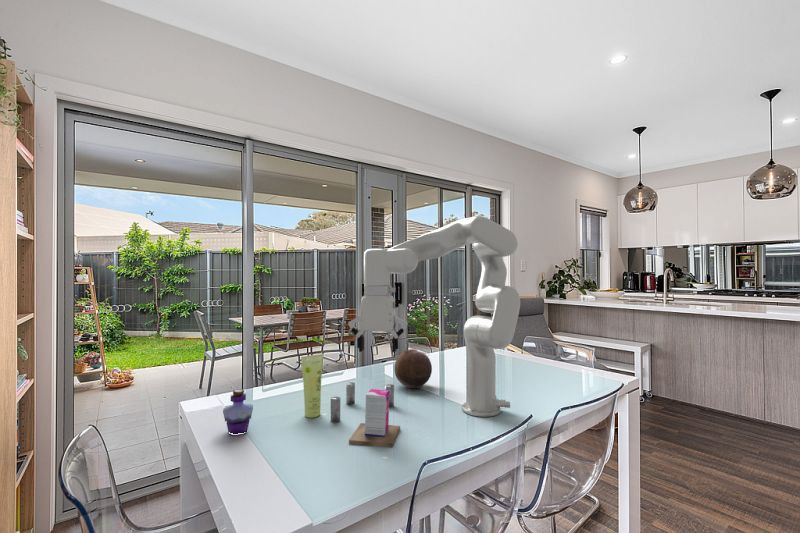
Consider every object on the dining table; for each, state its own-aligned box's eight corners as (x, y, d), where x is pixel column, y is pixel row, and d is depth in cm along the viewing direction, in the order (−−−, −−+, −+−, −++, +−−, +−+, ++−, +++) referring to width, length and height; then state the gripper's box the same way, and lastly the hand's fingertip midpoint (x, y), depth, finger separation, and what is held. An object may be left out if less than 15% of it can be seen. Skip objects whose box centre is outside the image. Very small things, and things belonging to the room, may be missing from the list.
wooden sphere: (439, 388, 157) (439, 350, 157) (408, 395, 148) (408, 355, 148) (416, 379, 169) (416, 344, 169) (387, 385, 160) (387, 348, 161)
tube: (314, 419, 124) (314, 357, 124) (300, 417, 126) (300, 356, 126) (323, 413, 130) (323, 353, 130) (309, 411, 131) (309, 352, 131)
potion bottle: (230, 425, 119) (230, 386, 119) (258, 426, 119) (258, 386, 119) (216, 438, 111) (216, 395, 111) (246, 438, 110) (246, 395, 110)
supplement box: (385, 437, 109) (385, 395, 109) (364, 436, 110) (364, 394, 110) (389, 429, 114) (389, 389, 114) (369, 427, 115) (369, 388, 115)
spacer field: (394, 404, 138) (394, 384, 138) (383, 425, 119) (383, 402, 119) (347, 401, 141) (347, 382, 141) (329, 422, 122) (329, 399, 122)
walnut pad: (400, 429, 117) (400, 425, 117) (392, 447, 105) (392, 443, 105) (360, 426, 119) (360, 423, 119) (348, 443, 107) (348, 440, 107)
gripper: (408, 291, 116) (409, 349, 116) (351, 291, 119) (352, 347, 119) (405, 292, 109) (405, 354, 109) (344, 292, 111) (345, 353, 111)
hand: (377, 351), depth 114 cm, fingers open, 9 cm apart
